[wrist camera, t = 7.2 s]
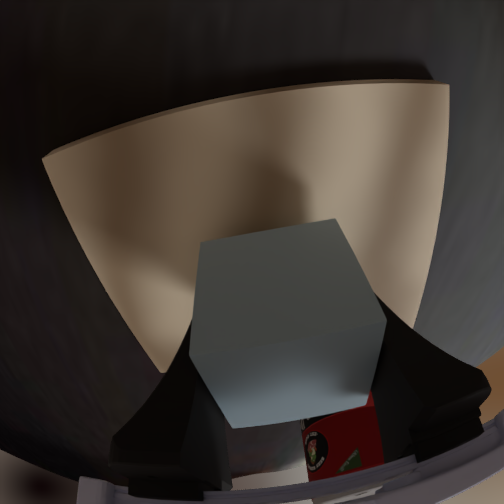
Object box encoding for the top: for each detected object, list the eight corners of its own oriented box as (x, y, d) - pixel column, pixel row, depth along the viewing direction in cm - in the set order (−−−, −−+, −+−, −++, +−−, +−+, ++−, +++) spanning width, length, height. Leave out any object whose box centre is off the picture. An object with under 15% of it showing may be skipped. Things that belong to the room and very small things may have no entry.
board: (434, 80, 11) (449, 84, 10) (406, 315, 21) (412, 328, 20) (53, 149, 12) (41, 158, 11) (162, 359, 22) (160, 372, 21)
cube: (335, 218, 12) (387, 320, 8) (336, 311, 16) (365, 405, 11) (200, 242, 13) (189, 355, 8) (229, 329, 16) (232, 428, 12)
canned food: (323, 348, 22) (356, 491, 13) (398, 358, 24) (438, 470, 15) (278, 396, 26) (292, 512, 17) (349, 401, 28) (372, 500, 19)
